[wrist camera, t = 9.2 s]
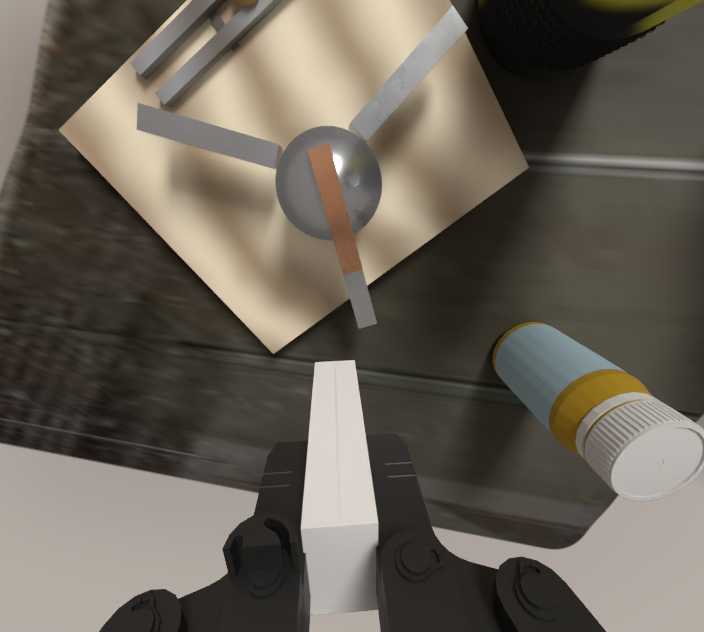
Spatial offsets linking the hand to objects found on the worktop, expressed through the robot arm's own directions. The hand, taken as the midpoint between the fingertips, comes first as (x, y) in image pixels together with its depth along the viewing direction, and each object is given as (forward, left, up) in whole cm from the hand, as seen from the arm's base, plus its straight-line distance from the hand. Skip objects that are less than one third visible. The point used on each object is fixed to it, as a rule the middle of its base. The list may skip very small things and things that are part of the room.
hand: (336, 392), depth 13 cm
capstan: (-4, -5, -16) cm, 17 cm away
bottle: (-11, +18, -18) cm, 28 cm away
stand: (-5, -9, -18) cm, 21 cm away
